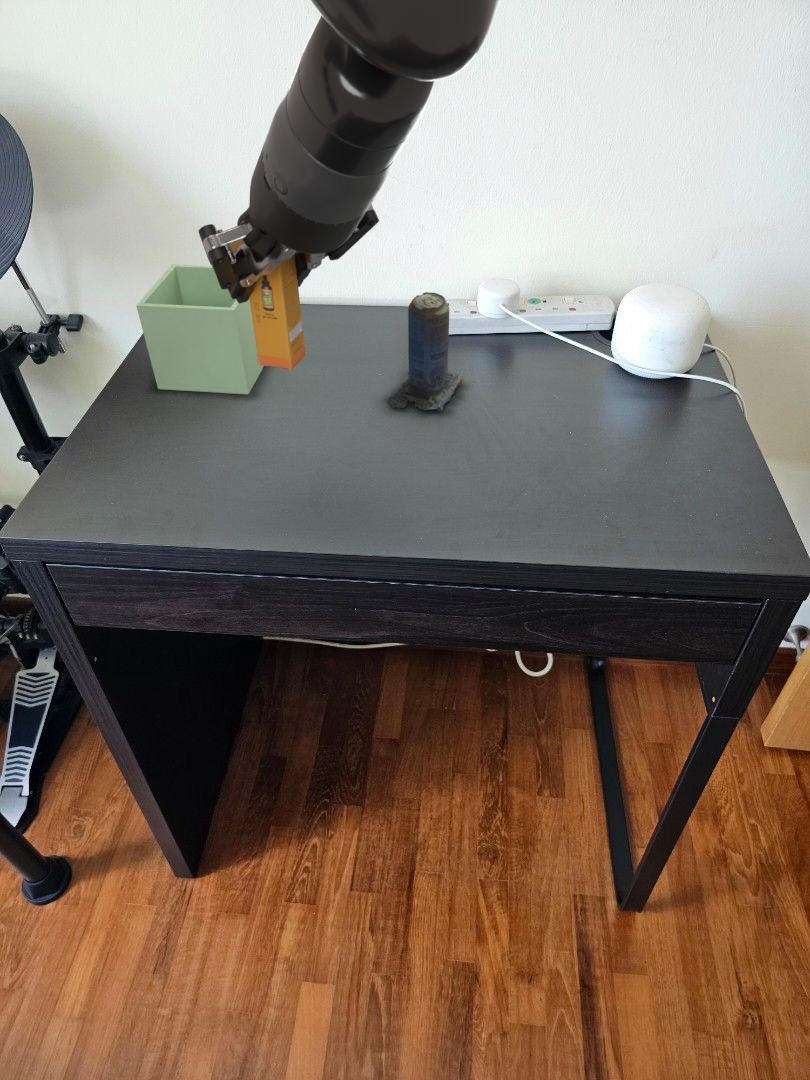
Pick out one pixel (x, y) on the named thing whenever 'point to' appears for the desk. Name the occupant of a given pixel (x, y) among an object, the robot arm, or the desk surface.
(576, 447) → the desk surface
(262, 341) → the supplement box
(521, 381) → the desk surface
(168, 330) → the trash bin
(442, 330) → the beverage can
